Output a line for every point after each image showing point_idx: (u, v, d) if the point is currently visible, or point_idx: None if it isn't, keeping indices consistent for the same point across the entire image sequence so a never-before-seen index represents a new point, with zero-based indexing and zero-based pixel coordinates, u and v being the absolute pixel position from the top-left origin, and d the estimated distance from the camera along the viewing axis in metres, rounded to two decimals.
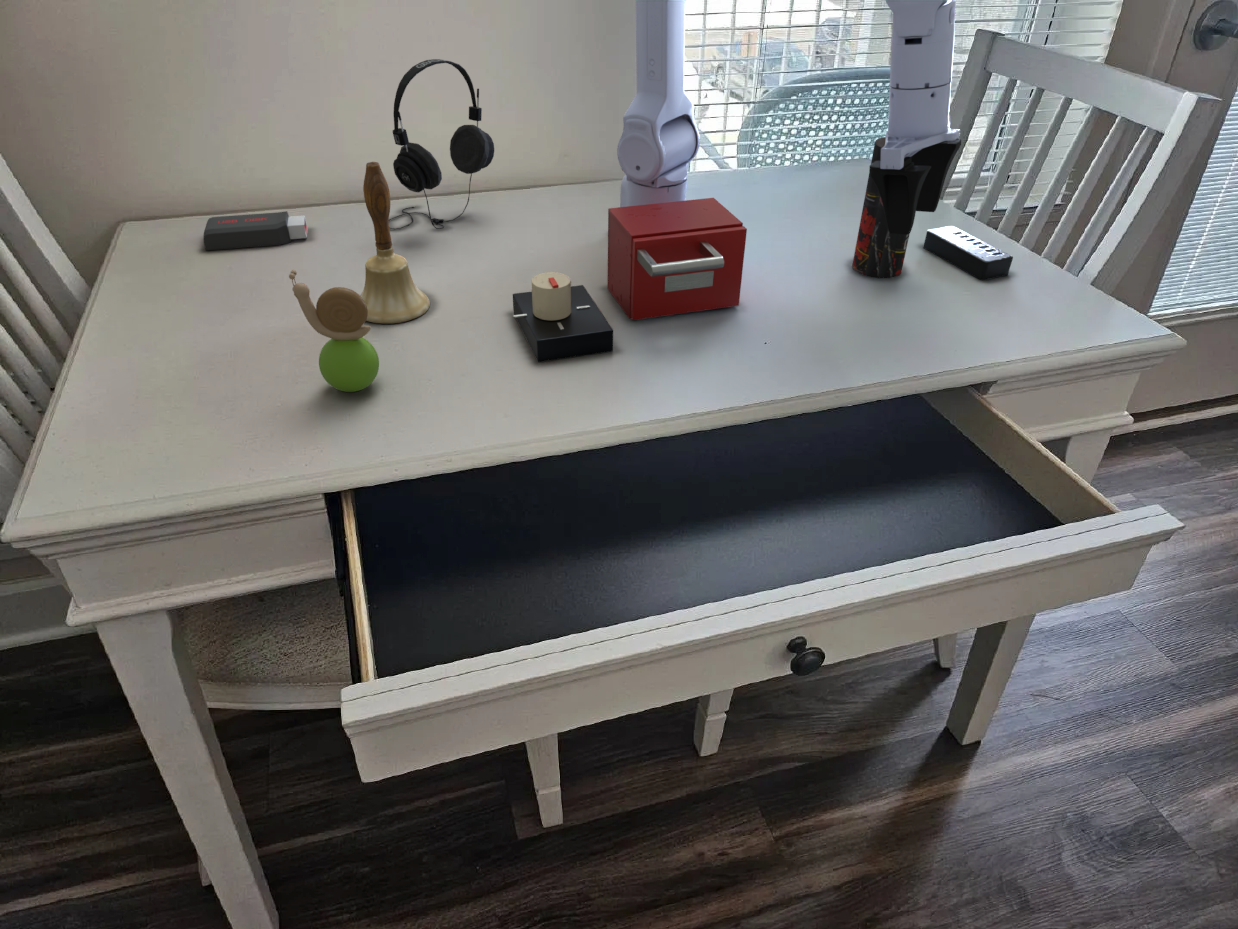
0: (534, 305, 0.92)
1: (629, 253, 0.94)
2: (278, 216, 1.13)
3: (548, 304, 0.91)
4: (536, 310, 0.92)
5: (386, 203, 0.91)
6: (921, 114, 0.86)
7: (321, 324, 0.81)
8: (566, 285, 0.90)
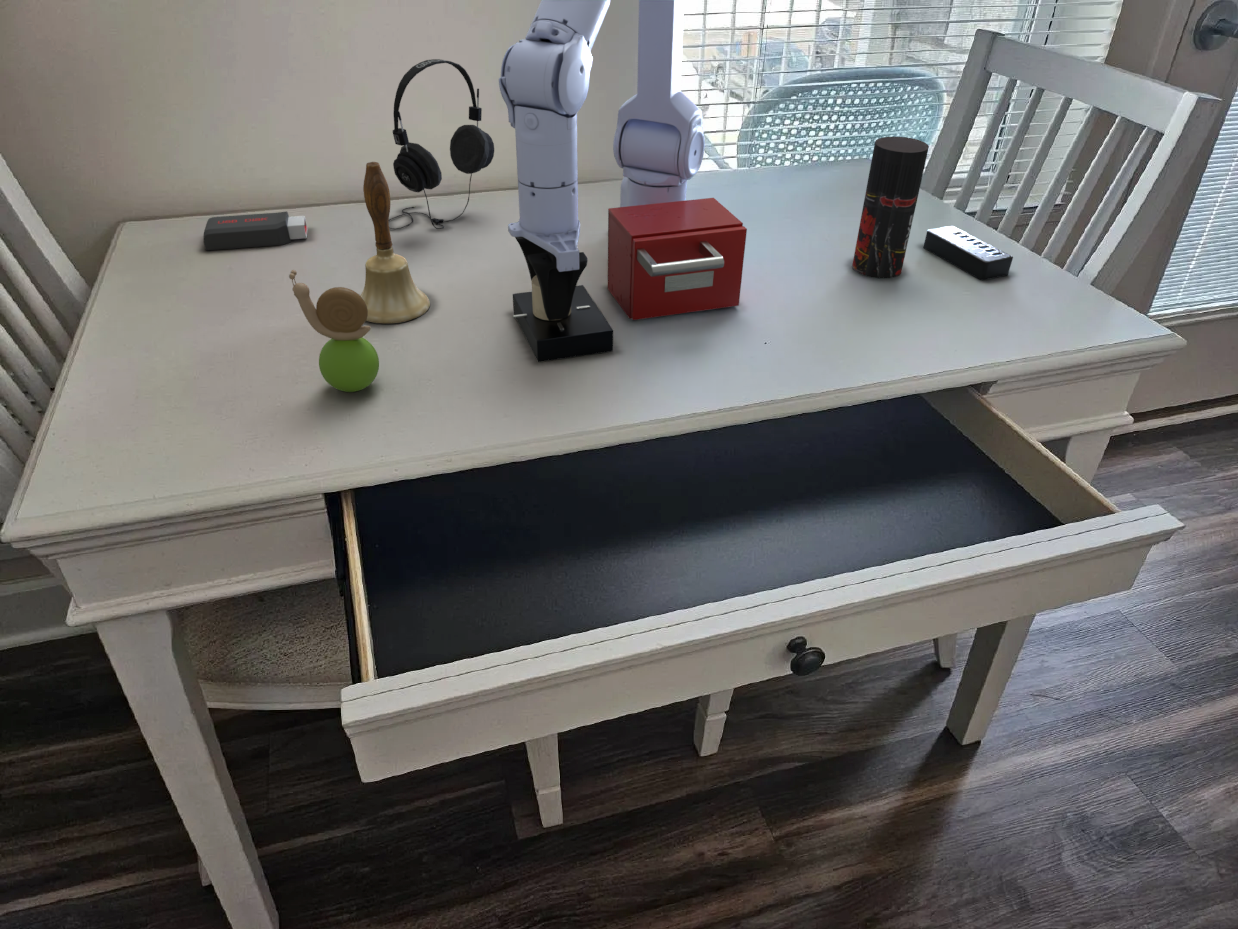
0: (534, 305, 0.92)
1: (629, 253, 0.94)
2: (278, 217, 1.13)
3: None
4: (536, 310, 0.92)
5: (386, 203, 0.91)
6: None
7: (321, 324, 0.81)
8: None
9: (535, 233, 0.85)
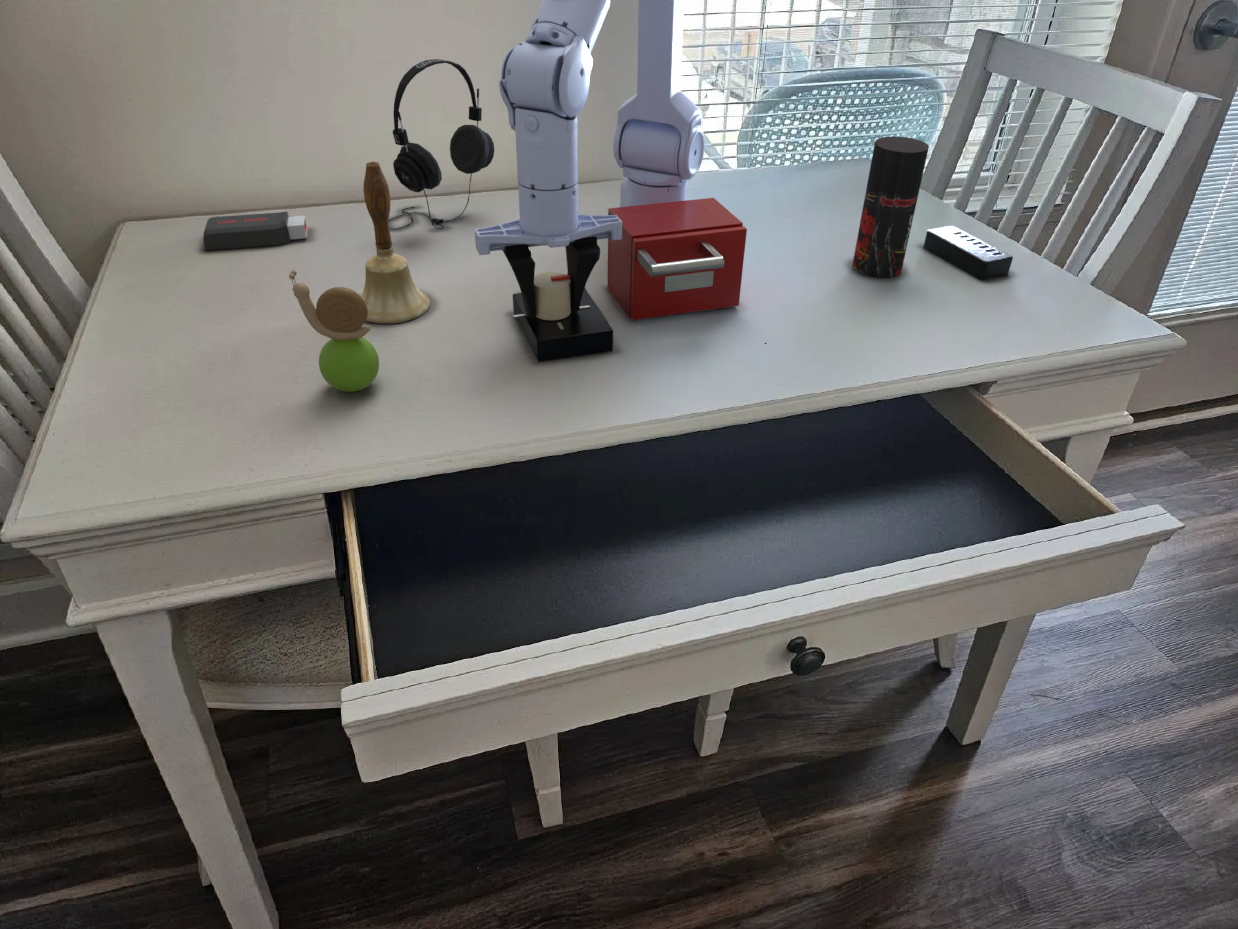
0: (560, 308, 0.91)
1: (629, 253, 0.94)
2: (278, 217, 1.13)
3: (570, 297, 0.92)
4: (563, 311, 0.92)
5: (386, 203, 0.91)
6: (525, 211, 0.85)
7: (321, 324, 0.81)
8: None
9: (576, 230, 0.87)
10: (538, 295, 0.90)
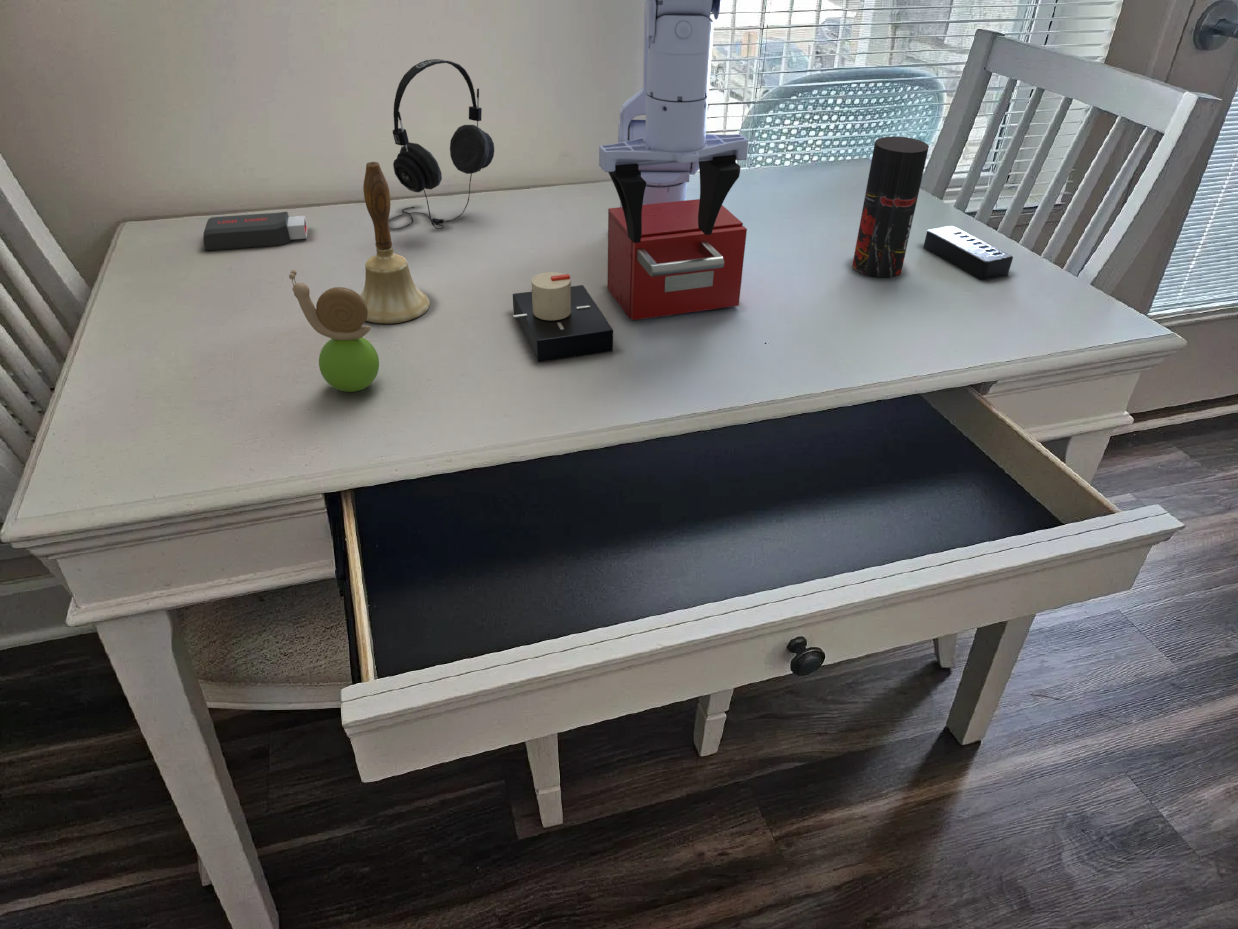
0: (560, 308, 0.91)
1: (629, 253, 0.94)
2: (278, 217, 1.13)
3: (570, 297, 0.92)
4: (563, 311, 0.92)
5: (386, 203, 0.91)
6: (654, 125, 0.82)
7: (321, 324, 0.81)
8: None
9: (704, 146, 0.84)
10: (538, 295, 0.90)
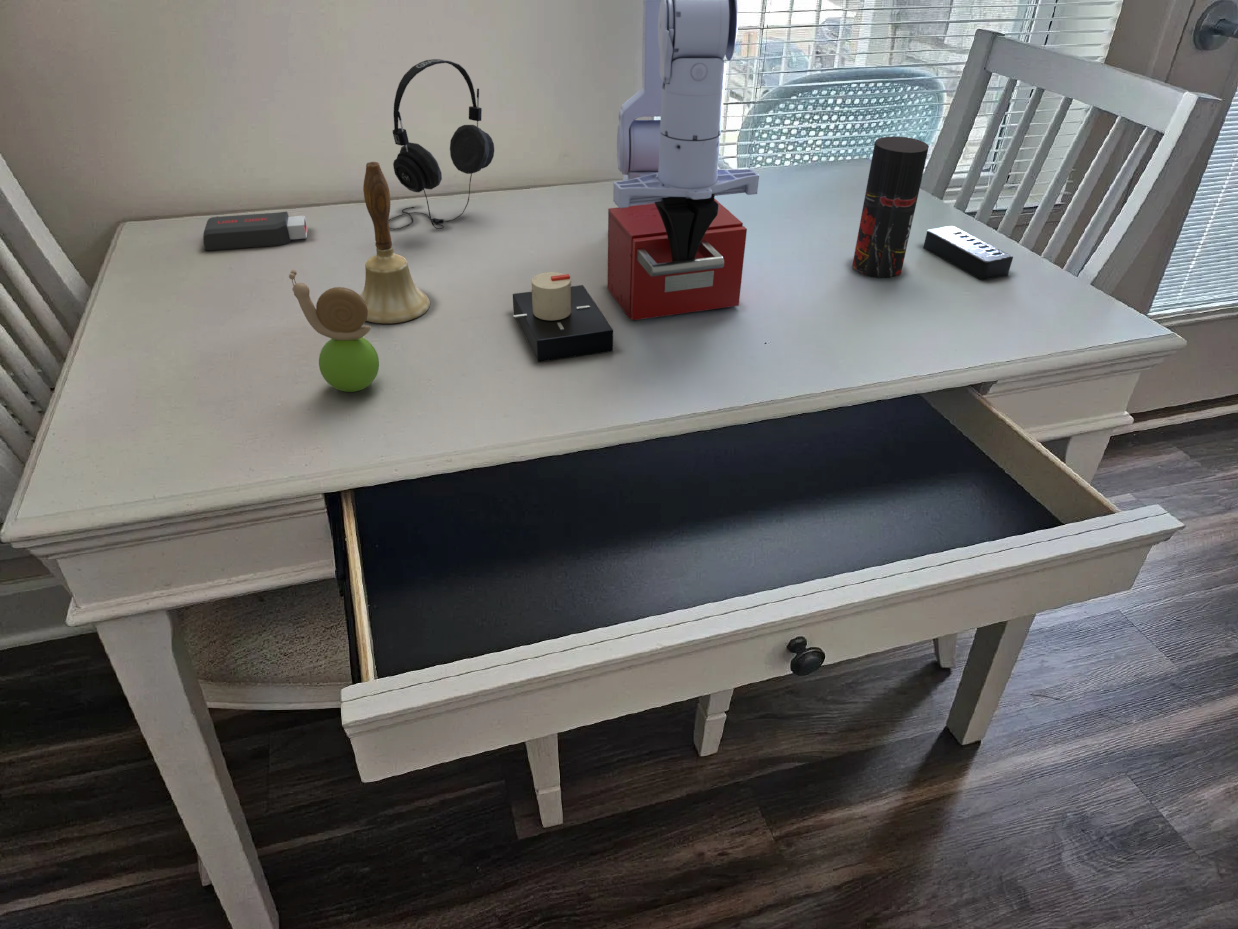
0: (560, 308, 0.91)
1: (629, 253, 0.94)
2: (278, 217, 1.13)
3: (570, 297, 0.92)
4: (563, 311, 0.92)
5: (386, 203, 0.91)
6: (667, 162, 0.84)
7: (321, 324, 0.81)
8: None
9: (716, 182, 0.86)
10: (538, 295, 0.90)
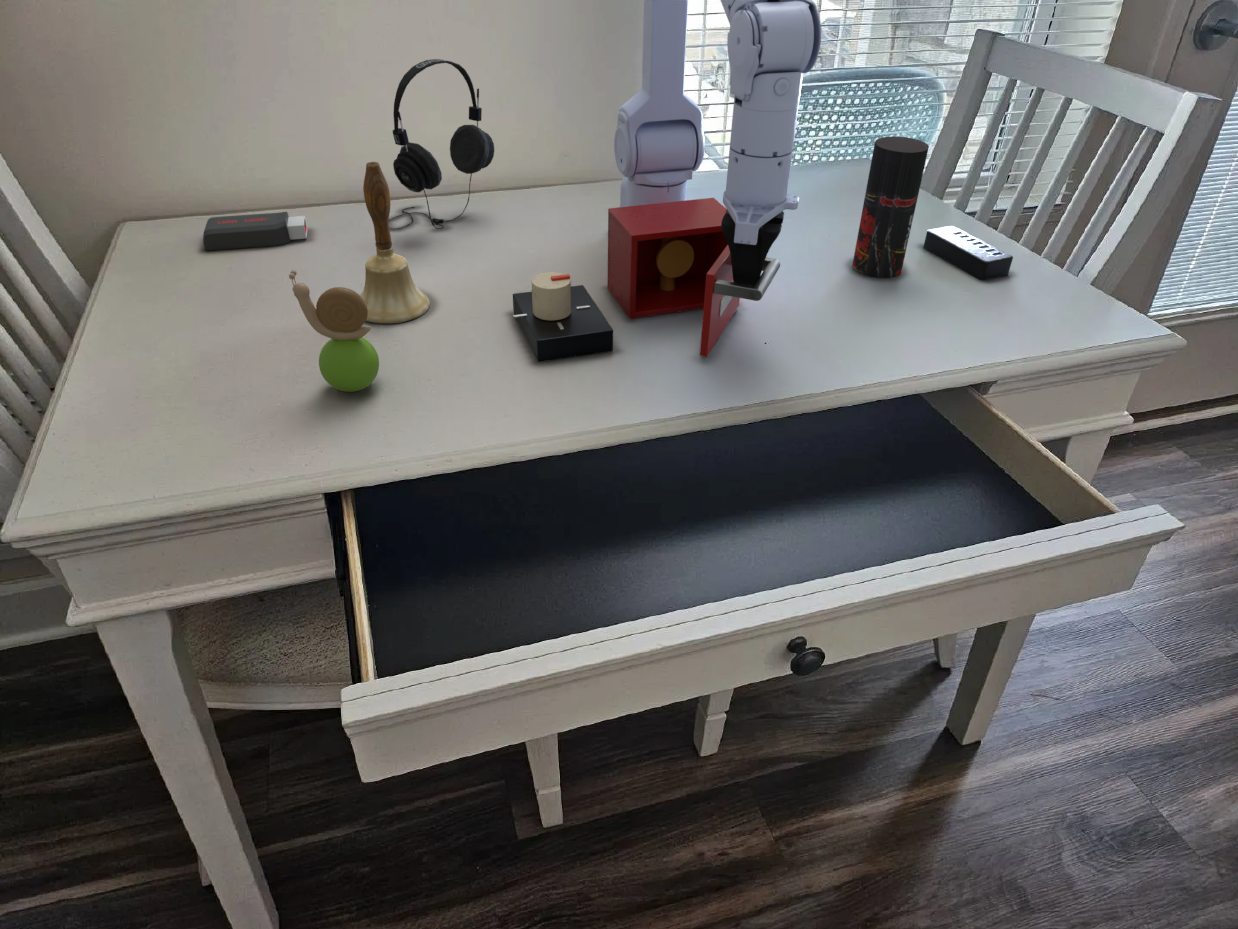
0: (560, 308, 0.91)
1: (629, 253, 0.94)
2: (278, 217, 1.13)
3: (570, 297, 0.92)
4: (563, 311, 0.92)
5: (386, 203, 0.91)
6: (768, 183, 0.80)
7: (321, 324, 0.81)
8: None
9: None
10: (538, 295, 0.90)
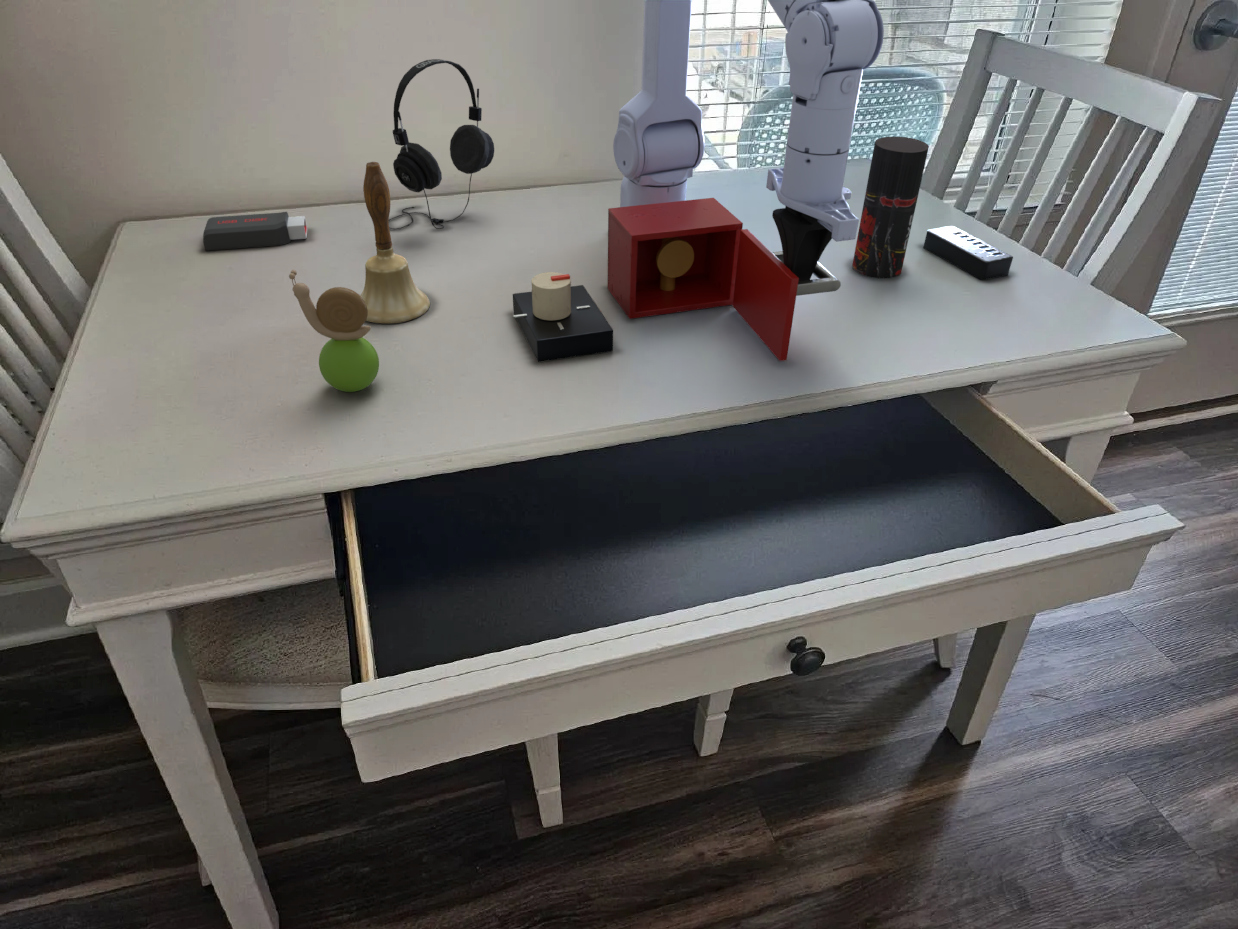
0: (560, 308, 0.91)
1: (629, 253, 0.94)
2: (278, 217, 1.13)
3: (570, 297, 0.92)
4: (563, 311, 0.92)
5: (386, 203, 0.91)
6: (839, 178, 0.82)
7: (321, 324, 0.81)
8: None
9: None
10: (538, 295, 0.90)
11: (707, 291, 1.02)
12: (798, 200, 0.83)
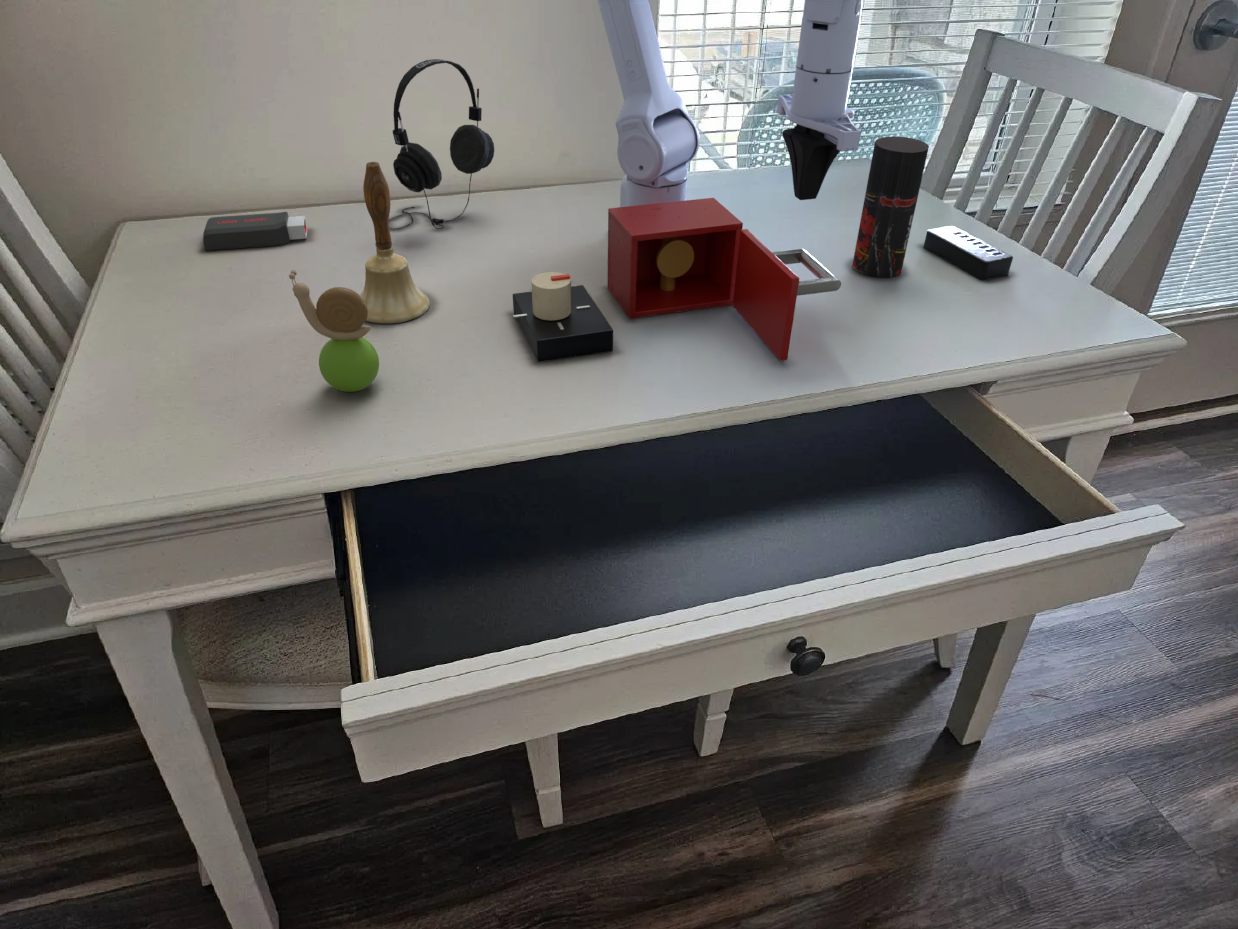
0: (560, 308, 0.91)
1: (629, 253, 0.94)
2: (278, 217, 1.13)
3: (570, 297, 0.92)
4: (563, 311, 0.92)
5: (386, 203, 0.91)
6: (843, 96, 0.91)
7: (321, 324, 0.81)
8: None
9: None
10: (538, 295, 0.90)
11: (707, 291, 1.02)
12: (806, 117, 0.92)
